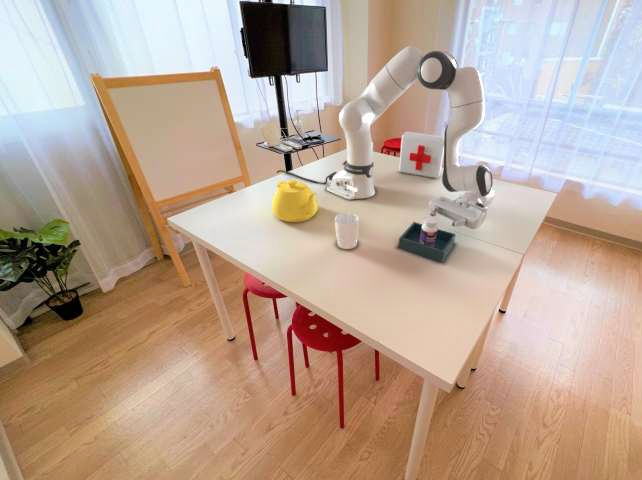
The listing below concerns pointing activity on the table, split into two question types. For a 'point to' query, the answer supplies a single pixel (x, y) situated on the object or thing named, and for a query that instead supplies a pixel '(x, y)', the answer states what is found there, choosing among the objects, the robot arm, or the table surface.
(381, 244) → the table surface
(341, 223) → the white cup
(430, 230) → the pill bottle
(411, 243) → the tote
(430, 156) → the bevelled white case
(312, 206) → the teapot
